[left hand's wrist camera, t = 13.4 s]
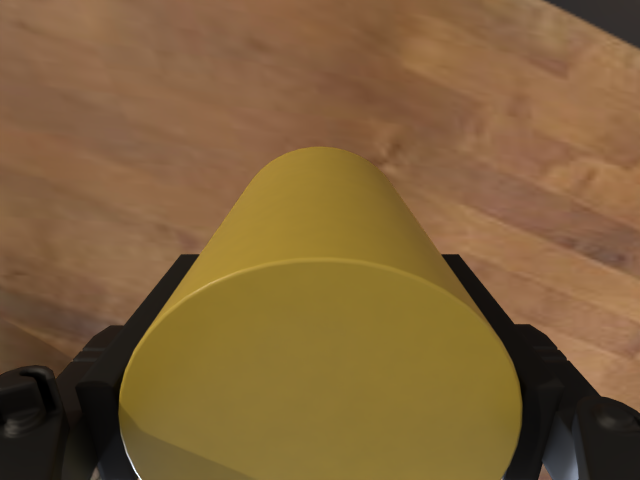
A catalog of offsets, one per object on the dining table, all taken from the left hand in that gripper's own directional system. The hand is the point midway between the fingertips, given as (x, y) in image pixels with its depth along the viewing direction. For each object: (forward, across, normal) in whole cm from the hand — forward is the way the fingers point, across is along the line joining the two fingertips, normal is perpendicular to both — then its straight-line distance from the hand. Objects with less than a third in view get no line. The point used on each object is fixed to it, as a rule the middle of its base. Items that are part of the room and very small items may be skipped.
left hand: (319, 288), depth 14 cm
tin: (+6, 0, 0) cm, 6 cm away
